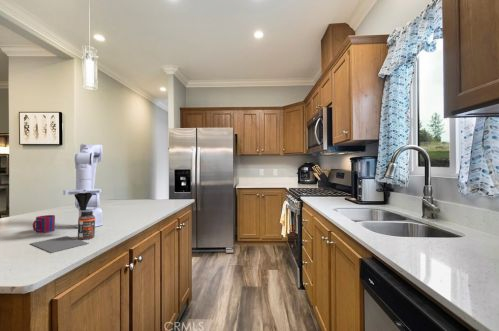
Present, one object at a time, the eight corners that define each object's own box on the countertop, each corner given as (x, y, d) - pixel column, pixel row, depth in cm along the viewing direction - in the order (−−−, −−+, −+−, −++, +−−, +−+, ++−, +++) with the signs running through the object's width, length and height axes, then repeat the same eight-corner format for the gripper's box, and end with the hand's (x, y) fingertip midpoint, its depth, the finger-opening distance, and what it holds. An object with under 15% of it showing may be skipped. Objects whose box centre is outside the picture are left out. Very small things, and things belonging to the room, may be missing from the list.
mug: (58, 229, 114) (58, 215, 114) (39, 235, 104) (39, 219, 104) (44, 229, 115) (45, 214, 115) (24, 235, 105) (24, 219, 105)
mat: (66, 236, 103) (66, 235, 103) (88, 243, 94) (88, 243, 94) (30, 244, 93) (30, 243, 93) (50, 253, 83) (50, 252, 83)
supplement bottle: (81, 241, 97) (82, 212, 97) (74, 238, 100) (75, 211, 100) (97, 237, 102) (98, 210, 102) (90, 235, 105) (91, 209, 106)
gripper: (68, 179, 100) (68, 213, 99) (105, 179, 112) (104, 208, 111) (61, 179, 103) (60, 211, 103) (97, 179, 116) (96, 207, 115)
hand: (83, 210), depth 107 cm, fingers closed
